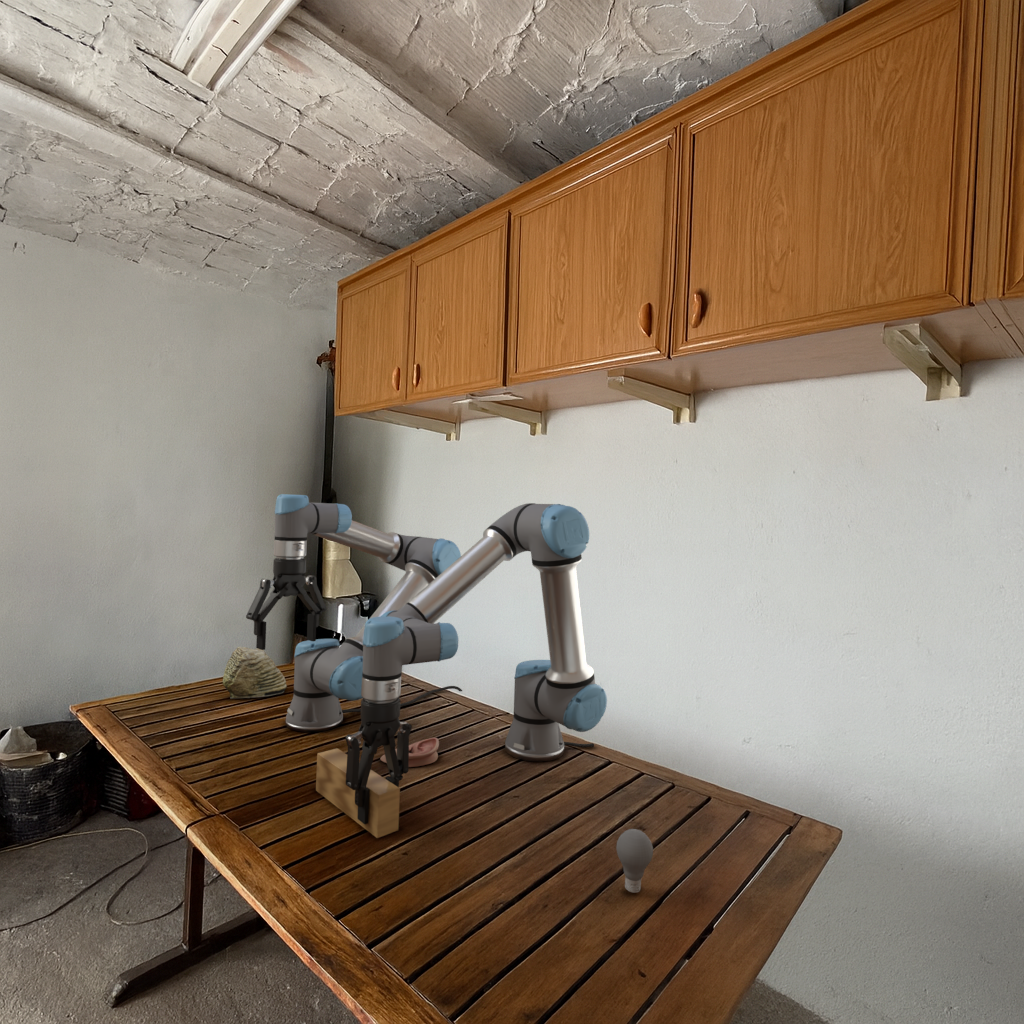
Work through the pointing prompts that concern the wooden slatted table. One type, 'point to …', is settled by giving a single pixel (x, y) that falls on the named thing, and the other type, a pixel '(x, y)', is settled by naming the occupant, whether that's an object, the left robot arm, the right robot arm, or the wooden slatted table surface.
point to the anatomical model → (421, 752)
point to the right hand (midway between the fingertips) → (376, 815)
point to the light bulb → (634, 857)
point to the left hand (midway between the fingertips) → (286, 644)
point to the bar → (337, 792)
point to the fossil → (252, 674)
